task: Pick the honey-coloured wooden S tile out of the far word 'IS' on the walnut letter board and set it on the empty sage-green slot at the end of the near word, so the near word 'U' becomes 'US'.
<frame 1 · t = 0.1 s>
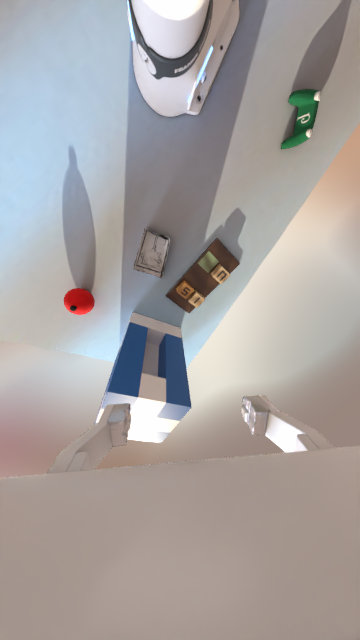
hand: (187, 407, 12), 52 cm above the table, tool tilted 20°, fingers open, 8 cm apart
ornament: (85, 295, 61), on the table
letter s tile: (184, 287, 61), point 1 cm above the table, touching letter board
letter board: (201, 279, 61), on the table
toy block: (149, 338, 74), on the table
green elongated piece: (294, 123, 41), on the table
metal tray: (153, 253, 55), on the table
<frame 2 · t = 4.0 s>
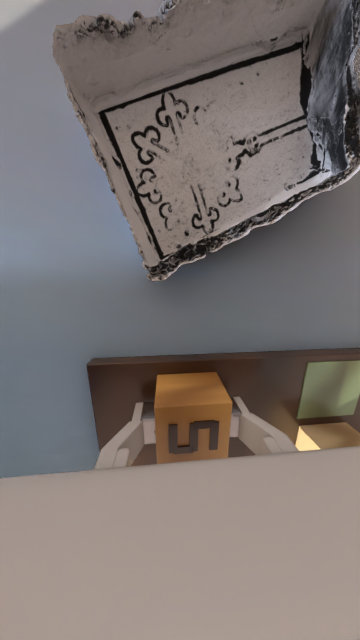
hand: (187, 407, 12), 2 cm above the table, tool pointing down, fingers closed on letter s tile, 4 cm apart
letter s tile: (186, 398, 13), point 1 cm above the table, touching gripper, letter board
letter board: (251, 413, 15), on the table
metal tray: (218, 165, 10), on the table
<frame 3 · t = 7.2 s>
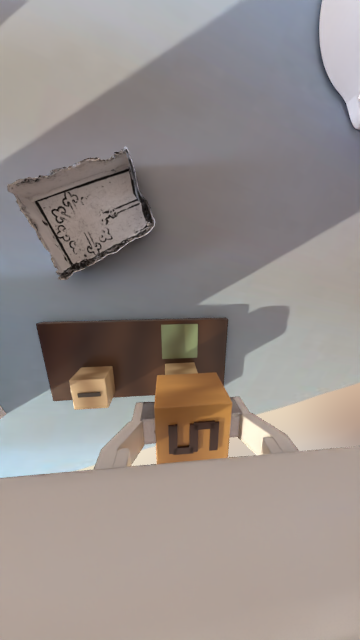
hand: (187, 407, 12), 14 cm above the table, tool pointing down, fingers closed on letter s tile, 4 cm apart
letter s tile: (186, 398, 13), point 13 cm above the table, touching gripper
letter board: (139, 357, 25), on the table
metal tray: (98, 222, 21), on the table
when the fingers open (2 cm above the table, at t = 10.2 s): letter s tile stays where it is, resting on letter board.
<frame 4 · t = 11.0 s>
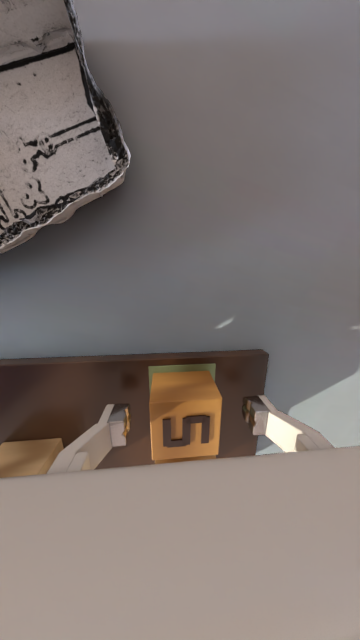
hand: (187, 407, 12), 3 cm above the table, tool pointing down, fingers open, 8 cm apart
letter s tile: (181, 395, 13), point 1 cm above the table, touching letter board
letter board: (113, 417, 15), on the table
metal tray: (17, 167, 10), on the table
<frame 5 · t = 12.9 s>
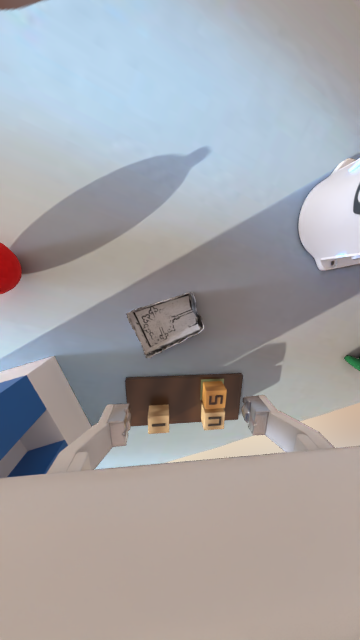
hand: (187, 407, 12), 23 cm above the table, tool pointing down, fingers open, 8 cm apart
ornament: (8, 267, 30), on the table
letter s tile: (211, 389, 38), point 1 cm above the table, touching letter board
letter board: (184, 398, 39), on the table
toy block: (30, 411, 37), on the table
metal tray: (167, 321, 35), on the table
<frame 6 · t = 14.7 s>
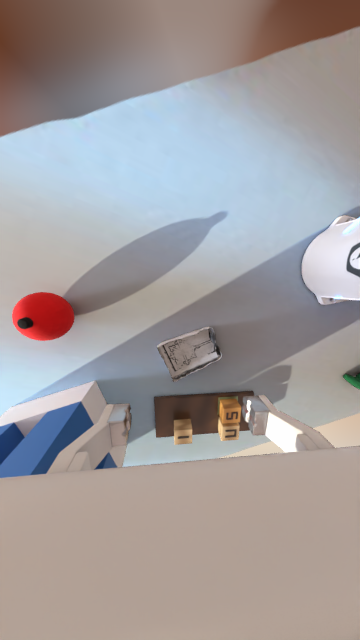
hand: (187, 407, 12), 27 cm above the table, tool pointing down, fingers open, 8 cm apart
ornament: (61, 311, 36), on the table
letter s tile: (227, 406, 44), point 1 cm above the table, touching letter board
letter board: (203, 412, 45), on the table
toy block: (73, 425, 43), on the table
green elongated piece: (358, 370, 46), on the table
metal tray: (189, 349, 41), on the table
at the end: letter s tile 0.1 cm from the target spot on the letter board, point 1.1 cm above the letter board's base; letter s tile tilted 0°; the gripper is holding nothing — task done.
